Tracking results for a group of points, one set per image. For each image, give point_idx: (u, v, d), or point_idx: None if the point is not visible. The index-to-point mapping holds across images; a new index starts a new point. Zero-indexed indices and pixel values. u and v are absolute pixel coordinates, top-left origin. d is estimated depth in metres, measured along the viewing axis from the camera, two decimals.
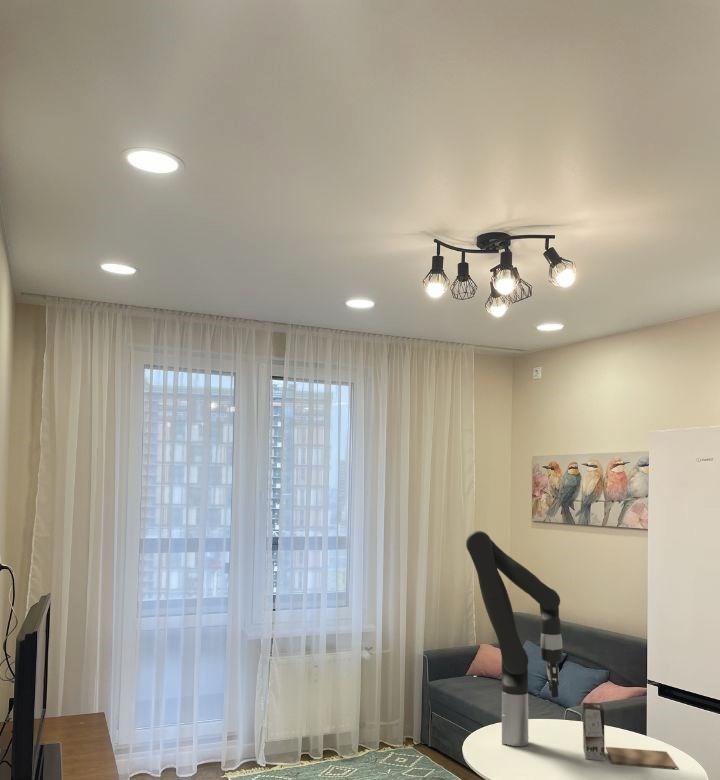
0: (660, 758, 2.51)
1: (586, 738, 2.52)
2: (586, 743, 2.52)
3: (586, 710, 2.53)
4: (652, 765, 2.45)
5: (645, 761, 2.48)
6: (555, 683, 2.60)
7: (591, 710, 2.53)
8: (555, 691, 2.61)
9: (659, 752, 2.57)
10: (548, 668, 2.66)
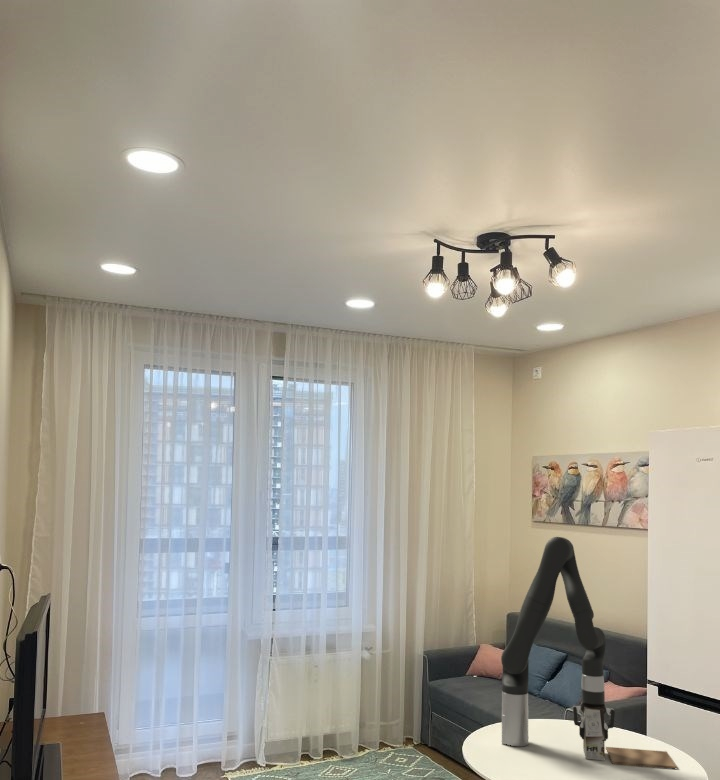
0: (660, 758, 2.51)
1: (586, 738, 2.52)
2: (586, 743, 2.52)
3: (586, 710, 2.53)
4: (652, 765, 2.45)
5: (645, 761, 2.48)
6: None
7: (591, 710, 2.53)
8: (607, 733, 2.55)
9: (659, 752, 2.57)
10: None
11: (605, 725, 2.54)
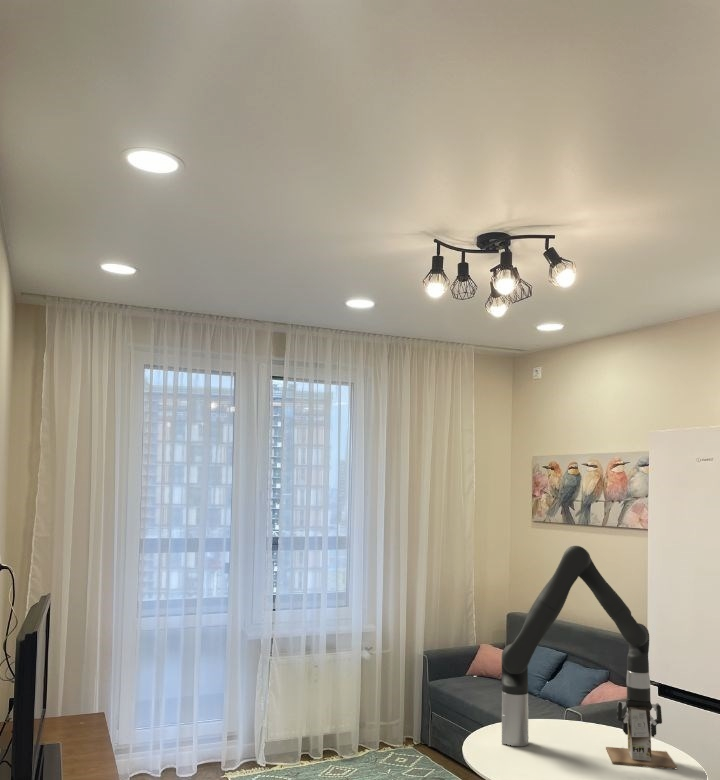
0: (660, 758, 2.51)
1: (632, 739, 2.50)
2: (632, 744, 2.50)
3: (632, 710, 2.51)
4: (652, 765, 2.45)
5: (645, 761, 2.48)
6: None
7: (637, 710, 2.51)
8: None
9: (659, 752, 2.57)
10: None
11: (653, 721, 2.52)
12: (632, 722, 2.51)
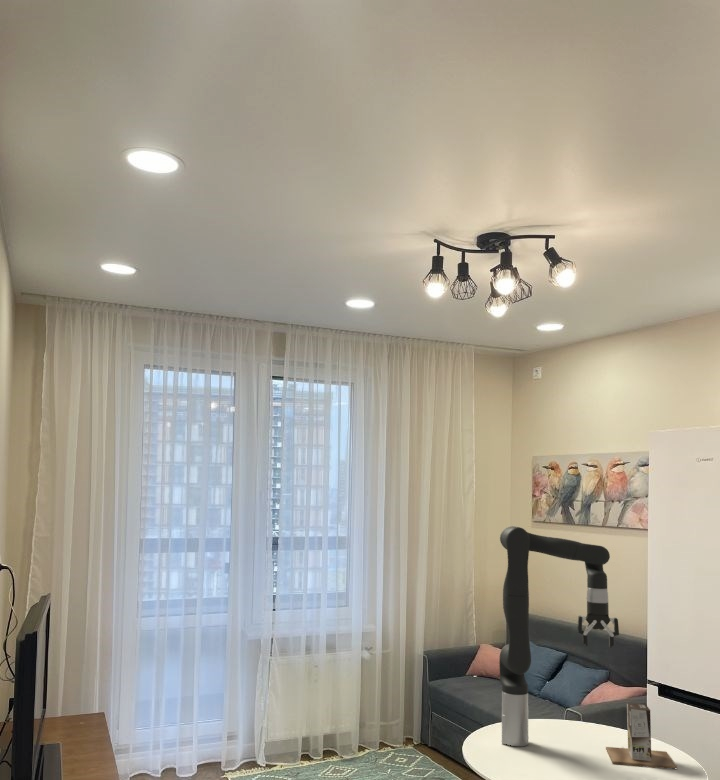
0: (660, 758, 2.51)
1: (632, 739, 2.50)
2: (632, 744, 2.50)
3: (632, 710, 2.51)
4: (652, 765, 2.45)
5: (645, 761, 2.48)
6: None
7: (637, 710, 2.51)
8: None
9: (659, 752, 2.57)
10: (604, 621, 2.73)
11: (611, 633, 2.72)
12: (632, 722, 2.51)
